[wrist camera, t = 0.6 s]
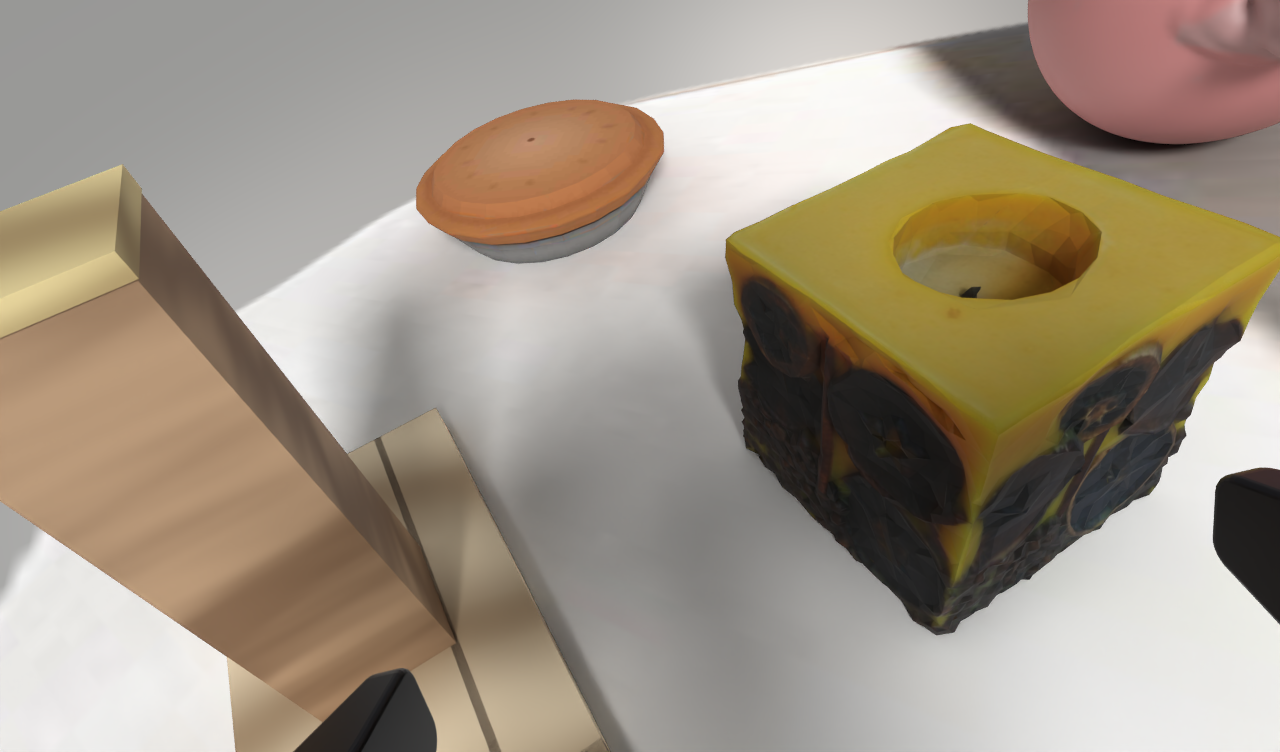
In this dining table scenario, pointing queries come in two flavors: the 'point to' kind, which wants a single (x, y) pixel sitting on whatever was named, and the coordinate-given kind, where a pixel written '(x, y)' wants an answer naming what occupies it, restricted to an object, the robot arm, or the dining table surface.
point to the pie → (543, 179)
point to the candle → (981, 355)
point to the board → (451, 620)
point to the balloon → (1162, 65)
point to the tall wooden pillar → (192, 454)
